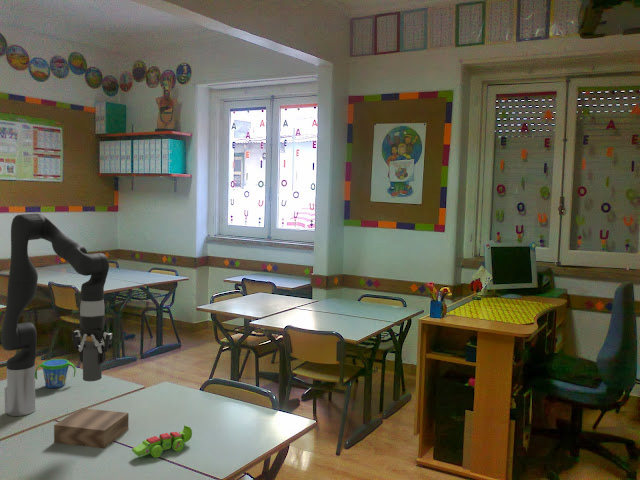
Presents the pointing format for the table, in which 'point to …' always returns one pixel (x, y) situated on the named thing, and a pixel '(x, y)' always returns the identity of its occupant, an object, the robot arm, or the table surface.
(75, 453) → the table surface
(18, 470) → the table surface
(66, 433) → the wooden box
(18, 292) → the robot arm
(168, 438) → the toy crocodile
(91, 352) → the bottle
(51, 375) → the snack cup
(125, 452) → the table surface
